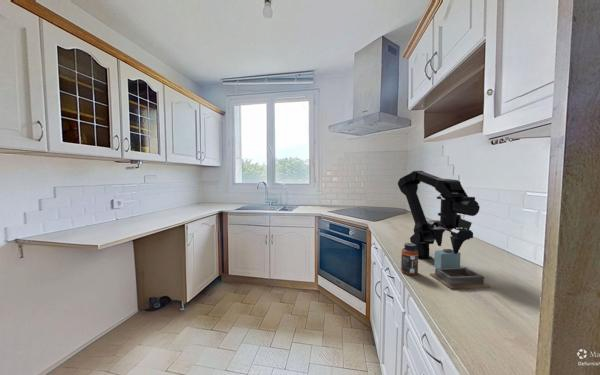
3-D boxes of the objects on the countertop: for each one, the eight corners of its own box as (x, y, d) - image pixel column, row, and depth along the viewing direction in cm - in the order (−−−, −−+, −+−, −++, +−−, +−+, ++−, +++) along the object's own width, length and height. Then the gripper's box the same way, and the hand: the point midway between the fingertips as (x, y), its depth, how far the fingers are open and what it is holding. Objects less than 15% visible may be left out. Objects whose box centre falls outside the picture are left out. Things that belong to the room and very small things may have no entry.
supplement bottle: (417, 277, 87) (417, 247, 87) (399, 273, 90) (400, 245, 90) (418, 271, 92) (419, 243, 92) (402, 268, 96) (402, 241, 95)
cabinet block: (434, 267, 97) (434, 248, 96) (452, 266, 97) (453, 247, 97) (440, 271, 93) (441, 251, 92) (459, 270, 93) (460, 250, 93)
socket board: (430, 275, 89) (430, 267, 89) (464, 273, 90) (464, 265, 90) (450, 289, 78) (451, 280, 78) (489, 287, 79) (490, 278, 79)
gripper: (488, 215, 85) (486, 257, 86) (451, 207, 103) (449, 242, 104) (459, 216, 84) (457, 258, 85) (426, 207, 102) (425, 242, 103)
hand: (447, 249), depth 94 cm, fingers open, 9 cm apart
